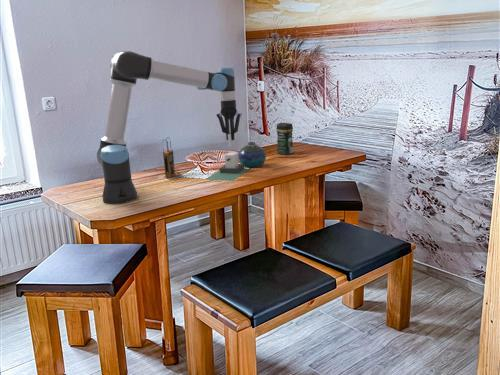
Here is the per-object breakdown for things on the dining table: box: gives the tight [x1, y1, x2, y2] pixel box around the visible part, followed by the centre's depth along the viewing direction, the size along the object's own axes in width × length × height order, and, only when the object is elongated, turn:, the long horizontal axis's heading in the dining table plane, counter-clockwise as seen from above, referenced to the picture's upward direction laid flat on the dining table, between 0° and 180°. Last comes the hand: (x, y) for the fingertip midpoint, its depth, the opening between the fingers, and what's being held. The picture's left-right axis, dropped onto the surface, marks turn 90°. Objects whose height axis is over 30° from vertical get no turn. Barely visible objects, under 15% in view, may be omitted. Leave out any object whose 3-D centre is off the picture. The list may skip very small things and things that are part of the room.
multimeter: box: [162, 136, 185, 181], centre depth 247 cm, size 15×10×20 cm
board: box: [205, 163, 250, 182], centre depth 243 cm, size 24×15×4 cm, turn 161°
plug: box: [224, 152, 240, 168], centre depth 247 cm, size 9×5×9 cm, turn 161°
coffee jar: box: [276, 122, 294, 155], centre depth 288 cm, size 10×8×19 cm
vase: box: [237, 141, 267, 169], centre depth 260 cm, size 15×15×13 cm
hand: (230, 146), depth 245 cm, fingers closed
